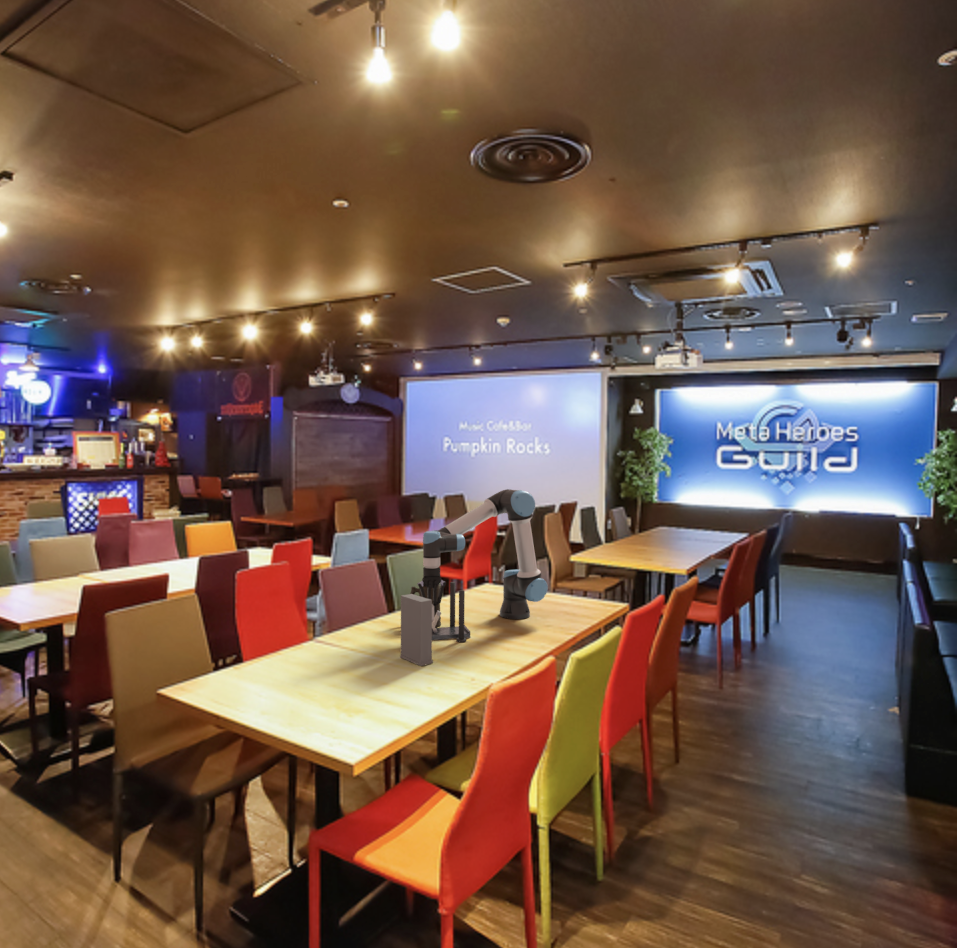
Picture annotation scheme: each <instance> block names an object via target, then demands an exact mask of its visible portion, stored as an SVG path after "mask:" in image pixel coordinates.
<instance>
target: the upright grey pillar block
mask: <svg viewBox="0 0 958 948" xmlns="http://www.w3.org/2000/svg"><path fill="white" fill-rule="evenodd" d="M432 642H433V640H432V600H430V599H427V598H424V597H420V596H419V595H417V594H410V593H409V594H402V595H400V655H399V656H400V658H401V659H404V660H406V661H408V662H410V663H413V664H415V665H417V666H419V667H423V666H426V665H431V664H434V660H433V650H432V647H433V644H432Z"/></svg>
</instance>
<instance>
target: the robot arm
mask: <svg viewBox="0 0 958 948" xmlns="http://www.w3.org/2000/svg"><path fill="white" fill-rule="evenodd" d="M535 509H536V501H535V498H534V496H533V495H532V494H531V493H530V492H529V491H525V490H521V489H519V490H518V489H510V488H509V489H508V488H507V489H503V490H500V491H498V492H495V493H494V494H492V495H490V496H489V497H488V498H485V500H484V502H483V503H481V504H480V505H478V506H477V507H475V508H473V509H471V510H470V511H468V512H467V513H465V514H462V516H460V517H459V518H457V519H455V520H453V521H452V522H450V523H448V524H446V525H445V526H444V527H442V528H440V529H436V530H435V529H434V530H430V531H425V532H424V533H423V536H422V549H423V551H422V553H423V554H422V561H423V562H422V563H423V564H422V565H423V568H422V569H423V570H422V571H423V572H422V573H423V574H422V579H421V581H419V582H417V586H418V589H419V588H420V591H421V595H422V597H424V598H426V597H425V593H424V589H423V583H424V584H425V585H426V587H427V599H430V600H431V588H433V604H432V621H434V613H435V612H436V606H437V604H440V605H441V602H442V598H443V593H444V590H445V587H446V585H447V582H446V581H445V580H443V579H442V576H441V553H448V552H449V553H450V552H459V551H464V549H465V547H466V539H465V537H464V534H465V533H467V532H468V531H470V530H472V529H474V528H476V527H477V526H479V525H480V524H481V523H483V522H486V521H487V520H488V519H490V518H492V517H494V518H496V517H498V516H499V515H502V514H507V520H508V521H509V522H510V523H511V524H512V525H511V526H512V531H513V532H512V533H513V537H514V538H513V539H514V543H515V551H516V555H517V563H518V568H519V569H508V570H505V571H503V572H504V573H503V577H502V578H503V588H502V589H503V597H502V598H503V599H502V603H501V606H500V609H499V617H501V618H505V619H508V620H509V619H510V620H525V619H527V618H530V616H531V610H530V607H529V605H528V602H533V603H537V602H540V601H542V600H543V599H544V598H545V596H546V595H547V593H548V591H549V590H548V588H549V586H548V583H547V581H546V580H545V579H544V578H543V577H542V571H541V569H539V568H538V565H537V558H536V553H535V552H536V551H535V547H534V537H533V533H532V532H533V531H532V526H531V519H533V513H534V512H535V511H534V510H535ZM439 584H440V590H439V594H438V599H437V586H438V585H439Z"/></svg>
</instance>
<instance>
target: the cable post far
mask: <svg viewBox="0 0 958 948" xmlns="http://www.w3.org/2000/svg"><path fill="white" fill-rule="evenodd" d="M449 584H450V585H449V627H456V581H451V582H449Z"/></svg>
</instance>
